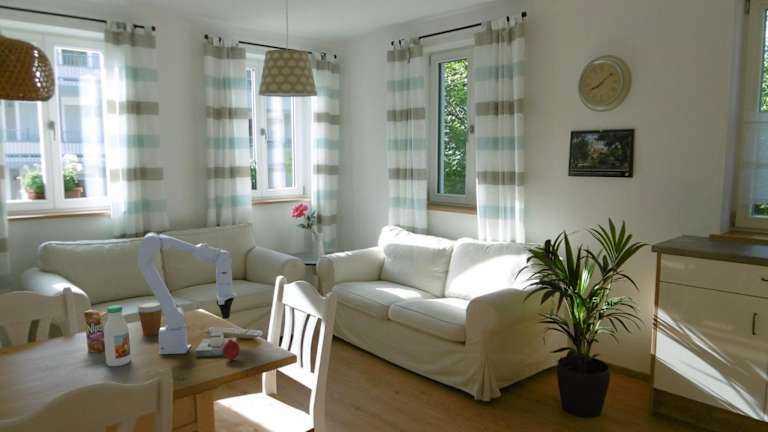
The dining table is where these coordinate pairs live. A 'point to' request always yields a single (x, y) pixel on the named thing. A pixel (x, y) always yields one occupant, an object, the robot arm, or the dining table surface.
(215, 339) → the plug
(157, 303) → the disposable coffee cup
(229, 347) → the onion
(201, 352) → the socket plate
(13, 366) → the dining table surface
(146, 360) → the dining table surface
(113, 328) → the milk bottle
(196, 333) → the dining table surface
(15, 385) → the dining table surface
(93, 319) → the candy box
